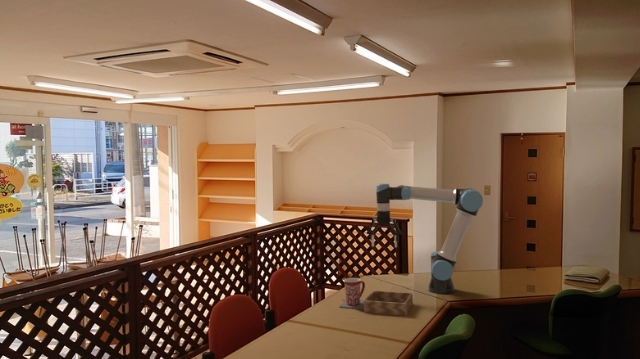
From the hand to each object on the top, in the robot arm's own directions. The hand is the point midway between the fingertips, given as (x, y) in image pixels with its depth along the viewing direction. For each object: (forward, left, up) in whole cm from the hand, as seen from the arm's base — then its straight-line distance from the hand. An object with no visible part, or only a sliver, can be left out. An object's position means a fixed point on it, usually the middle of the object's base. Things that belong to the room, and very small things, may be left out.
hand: (384, 246), depth 278 cm
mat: (+12, +22, -29) cm, 38 cm away
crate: (-7, +23, -29) cm, 37 cm away
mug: (+12, +22, -28) cm, 38 cm away
